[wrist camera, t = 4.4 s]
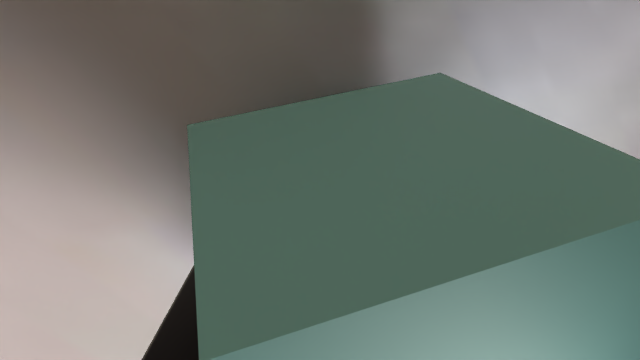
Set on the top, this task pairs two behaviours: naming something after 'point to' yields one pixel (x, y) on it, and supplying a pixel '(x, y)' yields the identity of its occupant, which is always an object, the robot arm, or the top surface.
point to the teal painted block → (412, 231)
